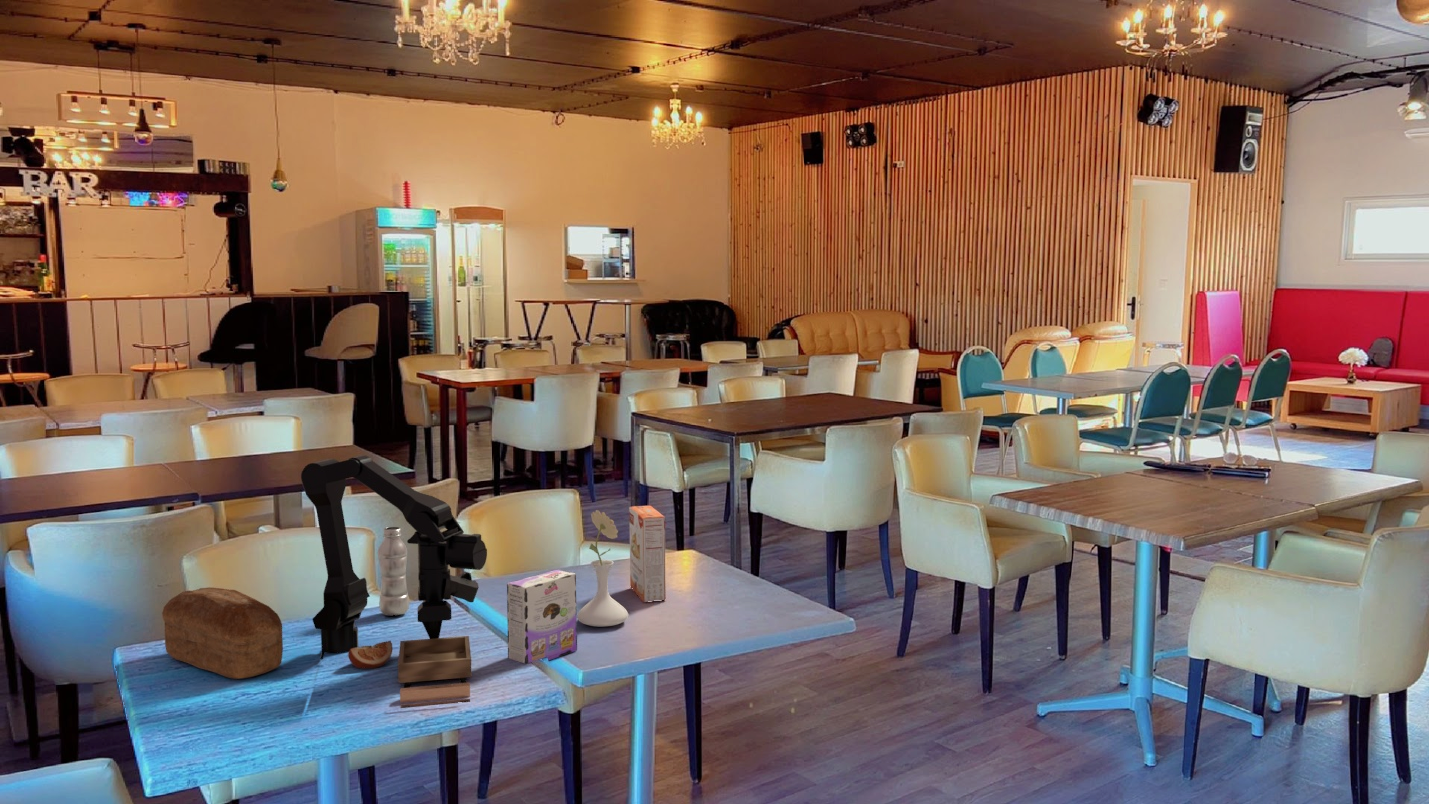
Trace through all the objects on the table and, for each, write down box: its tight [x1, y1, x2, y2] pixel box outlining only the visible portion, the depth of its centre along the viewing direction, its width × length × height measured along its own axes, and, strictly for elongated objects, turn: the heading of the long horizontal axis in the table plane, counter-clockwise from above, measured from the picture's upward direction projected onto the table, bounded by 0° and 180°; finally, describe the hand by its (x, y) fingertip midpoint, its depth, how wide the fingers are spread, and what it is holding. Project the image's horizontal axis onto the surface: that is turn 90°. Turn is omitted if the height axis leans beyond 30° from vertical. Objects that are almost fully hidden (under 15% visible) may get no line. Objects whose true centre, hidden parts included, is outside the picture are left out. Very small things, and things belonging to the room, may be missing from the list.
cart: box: [397, 635, 472, 684], centre depth 202 cm, size 13×14×4 cm
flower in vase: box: [577, 509, 629, 628], centre depth 236 cm, size 13×11×25 cm
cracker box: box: [628, 505, 667, 603], centre depth 258 cm, size 14×6×21 cm, turn 17°
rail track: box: [399, 677, 471, 709], centre depth 202 cm, size 12×28×3 cm, turn 15°
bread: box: [161, 587, 284, 680], centre depth 209 cm, size 12×28×14 cm, turn 56°
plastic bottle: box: [377, 526, 410, 617], centre depth 241 cm, size 6×7×20 cm
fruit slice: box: [347, 640, 393, 670], centre depth 206 cm, size 8×7×5 cm
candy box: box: [506, 569, 578, 665], centre depth 213 cm, size 14×6×16 cm, turn 141°
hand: (435, 643), depth 209 cm, fingers closed
